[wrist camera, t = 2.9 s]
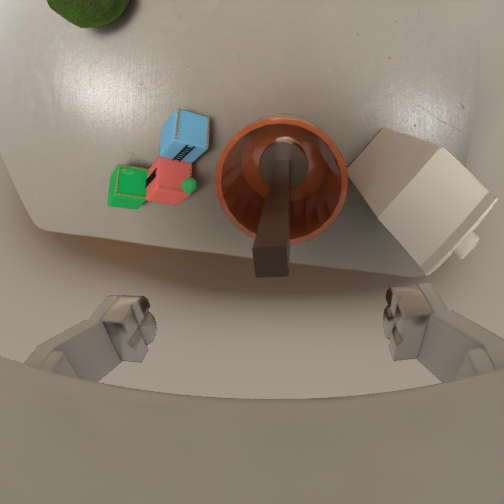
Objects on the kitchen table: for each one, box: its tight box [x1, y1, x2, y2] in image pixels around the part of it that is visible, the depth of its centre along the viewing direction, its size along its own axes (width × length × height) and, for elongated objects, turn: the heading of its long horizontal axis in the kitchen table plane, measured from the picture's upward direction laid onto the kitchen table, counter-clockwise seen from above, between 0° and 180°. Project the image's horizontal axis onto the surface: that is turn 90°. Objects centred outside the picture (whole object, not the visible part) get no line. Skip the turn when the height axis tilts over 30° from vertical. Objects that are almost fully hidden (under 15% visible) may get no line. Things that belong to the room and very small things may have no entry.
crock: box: [215, 114, 348, 244], centre depth 29 cm, size 11×11×11 cm
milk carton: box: [347, 128, 498, 276], centre depth 24 cm, size 7×7×19 cm
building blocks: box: [108, 108, 210, 209], centre depth 32 cm, size 8×8×12 cm
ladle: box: [252, 139, 308, 278], centre depth 23 cm, size 5×5×23 cm
